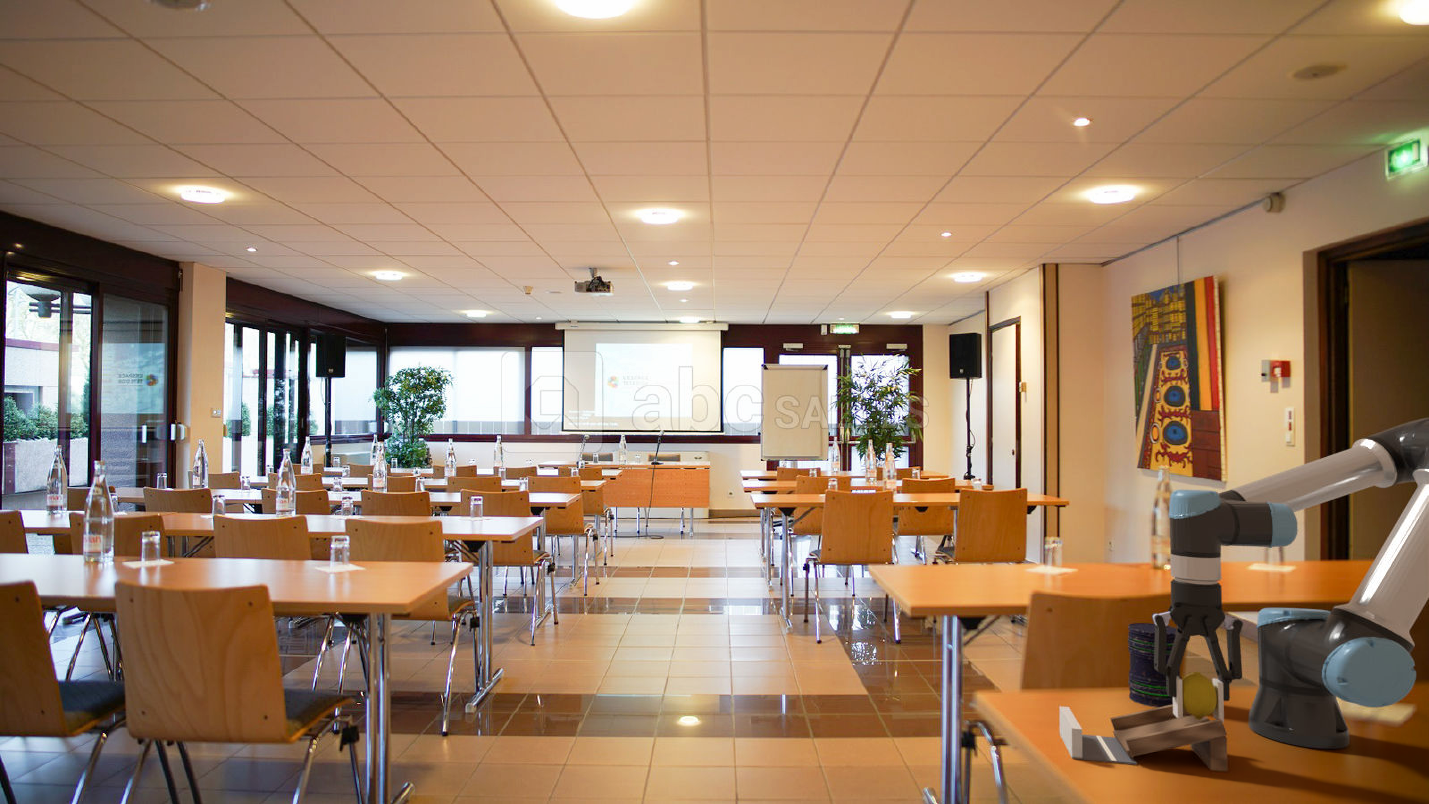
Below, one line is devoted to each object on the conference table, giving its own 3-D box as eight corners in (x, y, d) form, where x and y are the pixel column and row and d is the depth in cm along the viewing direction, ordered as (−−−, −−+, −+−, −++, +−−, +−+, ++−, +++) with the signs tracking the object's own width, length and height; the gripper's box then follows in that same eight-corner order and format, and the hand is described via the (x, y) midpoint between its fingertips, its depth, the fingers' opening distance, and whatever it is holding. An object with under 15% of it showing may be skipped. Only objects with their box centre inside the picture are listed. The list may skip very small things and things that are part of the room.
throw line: (1100, 737, 147) (1100, 736, 147) (1116, 762, 135) (1116, 760, 135) (1095, 737, 147) (1095, 735, 147) (1111, 762, 136) (1111, 760, 136)
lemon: (1223, 726, 135) (1221, 677, 135) (1186, 723, 136) (1185, 675, 136) (1209, 715, 140) (1208, 668, 141) (1174, 713, 141) (1173, 666, 142)
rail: (1069, 735, 148) (1068, 707, 149) (1082, 759, 137) (1082, 729, 137) (1059, 734, 149) (1059, 706, 149) (1072, 758, 137) (1071, 728, 137)
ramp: (1204, 747, 143) (1203, 699, 143) (1229, 773, 132) (1228, 721, 132) (1110, 739, 146) (1109, 692, 147) (1126, 763, 135) (1126, 712, 136)
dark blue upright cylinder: (1163, 711, 163) (1162, 635, 163) (1118, 697, 171) (1117, 625, 172) (1192, 703, 168) (1191, 630, 168) (1147, 691, 176) (1146, 621, 177)
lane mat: (1119, 739, 146) (1119, 737, 146) (1137, 765, 135) (1137, 763, 135) (1059, 734, 149) (1059, 732, 149) (1072, 758, 137) (1072, 756, 137)
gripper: (1247, 579, 141) (1250, 715, 140) (1131, 574, 145) (1132, 706, 144) (1265, 586, 134) (1269, 730, 132) (1142, 581, 138) (1144, 720, 137)
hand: (1198, 717), depth 138 cm, fingers closed on lemon, 5 cm apart
